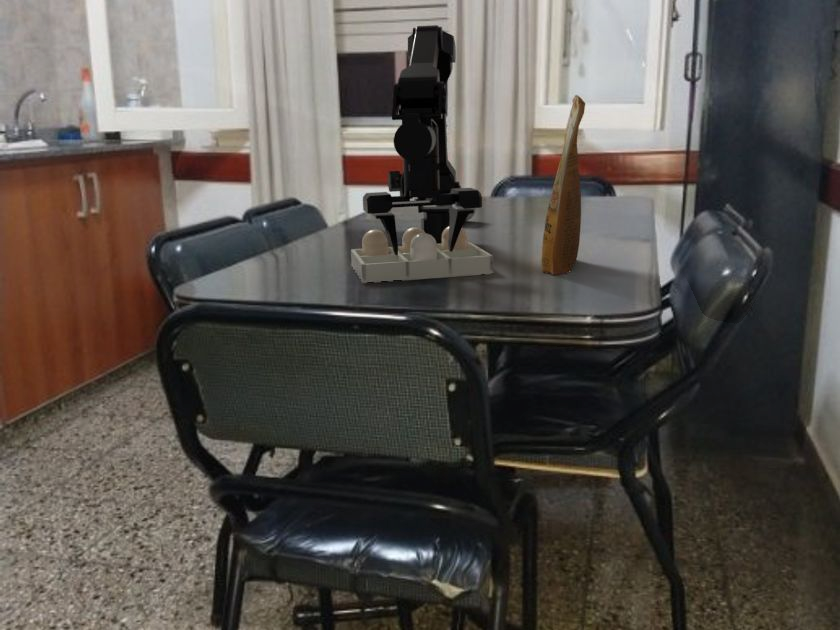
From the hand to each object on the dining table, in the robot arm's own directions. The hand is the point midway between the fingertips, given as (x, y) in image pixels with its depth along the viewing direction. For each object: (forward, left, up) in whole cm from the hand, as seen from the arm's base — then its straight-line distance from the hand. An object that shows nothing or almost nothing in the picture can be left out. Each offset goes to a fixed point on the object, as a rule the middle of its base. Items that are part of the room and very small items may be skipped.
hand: (423, 253), depth 129 cm
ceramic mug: (-19, -56, -4) cm, 59 cm away
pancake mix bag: (-24, +2, -4) cm, 24 cm away
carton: (0, -3, -4) cm, 5 cm away
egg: (0, 0, -3) cm, 3 cm away
